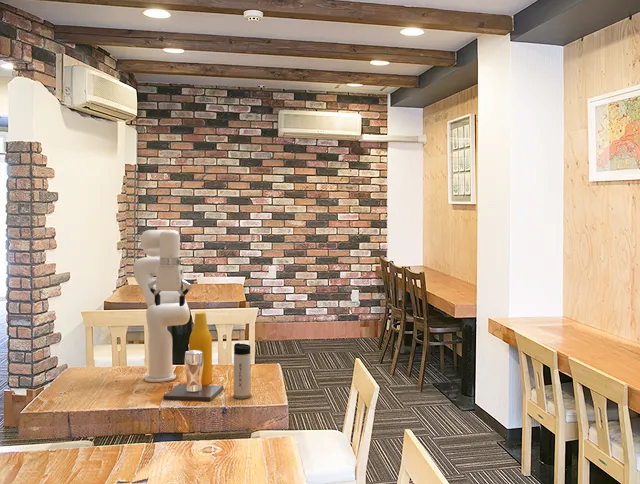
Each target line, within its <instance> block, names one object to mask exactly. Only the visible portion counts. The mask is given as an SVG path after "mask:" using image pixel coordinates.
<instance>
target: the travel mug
mask: <svg viewBox="0 0 640 484" xmlns="http://www.w3.org/2000/svg"><path fill="white" fill-rule="evenodd" d="M251 357H252V356H251V345H250V344H246V343H240V342H237V343H234V345H233V397H234V398H235V399H239V400H244V399H249V398H250V397H251V385H252V384H251V369H252V368H251V363H252V362H251V360H252V359H251Z"/></svg>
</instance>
